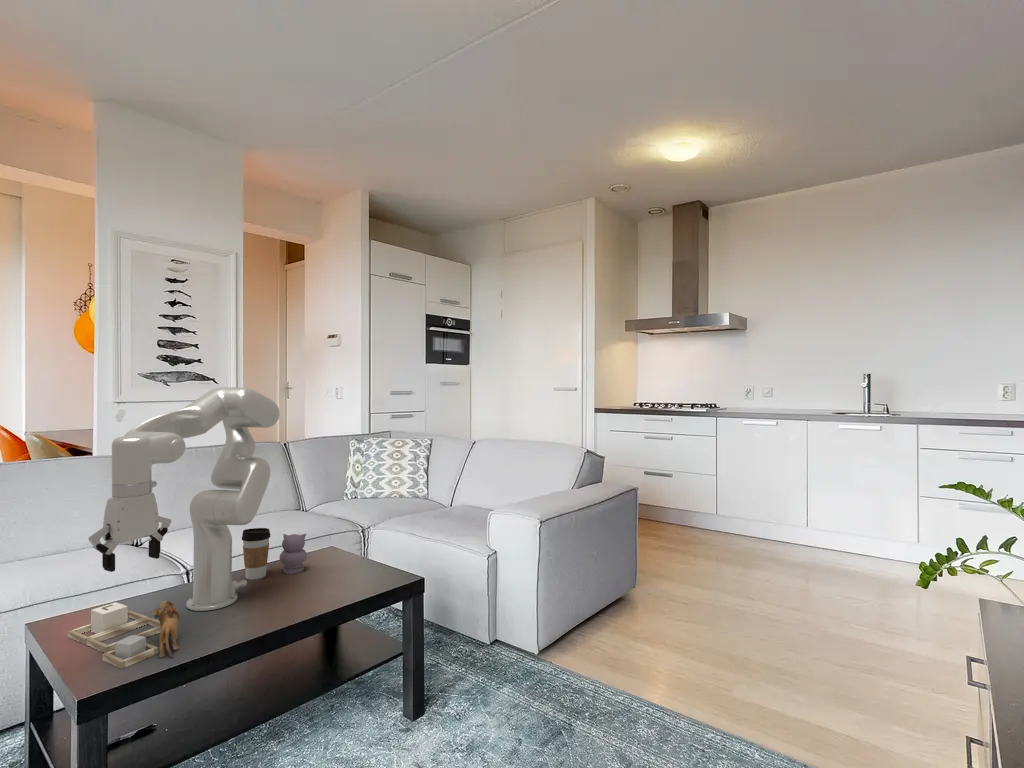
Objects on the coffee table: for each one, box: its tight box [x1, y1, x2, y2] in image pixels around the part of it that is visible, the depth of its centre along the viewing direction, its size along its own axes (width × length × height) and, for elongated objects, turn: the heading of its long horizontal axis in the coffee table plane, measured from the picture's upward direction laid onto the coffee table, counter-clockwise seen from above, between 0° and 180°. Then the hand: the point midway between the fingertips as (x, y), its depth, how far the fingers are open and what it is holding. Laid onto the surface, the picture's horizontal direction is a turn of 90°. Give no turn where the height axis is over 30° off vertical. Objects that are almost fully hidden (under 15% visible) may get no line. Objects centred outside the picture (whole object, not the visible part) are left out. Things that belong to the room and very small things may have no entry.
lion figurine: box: [151, 600, 180, 658], centre depth 129 cm, size 15×5×9 cm, turn 40°
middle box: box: [85, 616, 161, 654], centre depth 133 cm, size 14×8×1 cm, turn 152°
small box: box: [102, 642, 159, 670], centre depth 123 cm, size 8×8×1 cm
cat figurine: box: [279, 533, 308, 575], centre depth 182 cm, size 8×8×12 cm
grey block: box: [114, 634, 147, 660], centre depth 123 cm, size 4×4×4 cm
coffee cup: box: [241, 527, 272, 580], centre depth 176 cm, size 8×8×15 cm
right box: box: [67, 610, 150, 646], centre depth 137 cm, size 14×8×1 cm, turn 152°
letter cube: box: [90, 601, 129, 634], centre depth 137 cm, size 6×6×6 cm
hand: (132, 563), depth 126 cm, fingers open, 9 cm apart
